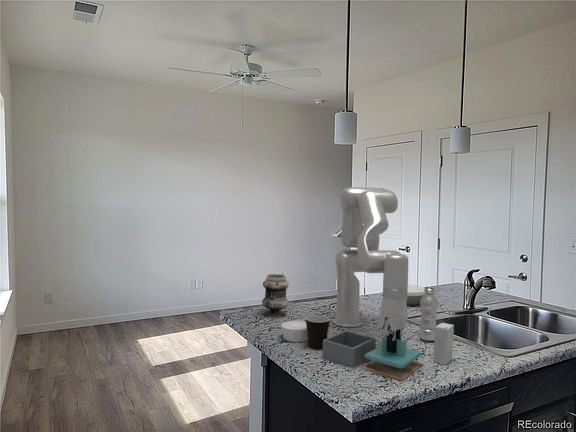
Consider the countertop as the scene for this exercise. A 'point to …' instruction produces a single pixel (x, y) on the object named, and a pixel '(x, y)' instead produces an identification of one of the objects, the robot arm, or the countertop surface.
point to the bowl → (414, 294)
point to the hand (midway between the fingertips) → (393, 350)
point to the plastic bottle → (428, 315)
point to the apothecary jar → (275, 295)
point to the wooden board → (392, 370)
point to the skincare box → (443, 343)
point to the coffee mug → (317, 331)
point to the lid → (391, 359)
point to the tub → (348, 348)
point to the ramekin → (294, 331)
